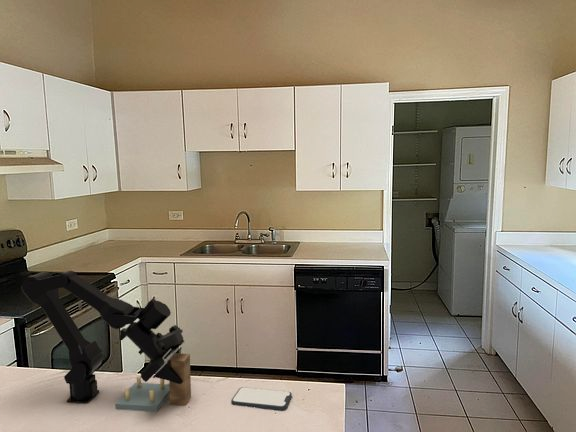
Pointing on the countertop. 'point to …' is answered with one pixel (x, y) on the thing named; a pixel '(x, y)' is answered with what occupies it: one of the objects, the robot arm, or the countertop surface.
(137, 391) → the pegged blue base plate
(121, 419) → the countertop surface
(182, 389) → the walnut block
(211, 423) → the countertop surface
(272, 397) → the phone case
